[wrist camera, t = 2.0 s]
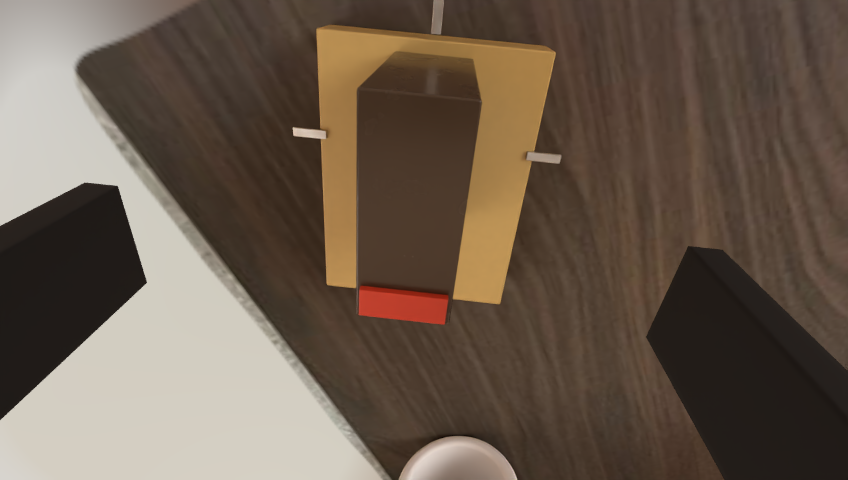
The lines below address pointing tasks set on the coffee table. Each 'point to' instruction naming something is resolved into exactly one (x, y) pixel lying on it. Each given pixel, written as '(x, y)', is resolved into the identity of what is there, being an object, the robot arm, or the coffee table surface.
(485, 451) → the mug
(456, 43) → the plate
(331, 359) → the coffee table surface
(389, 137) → the lock turn
